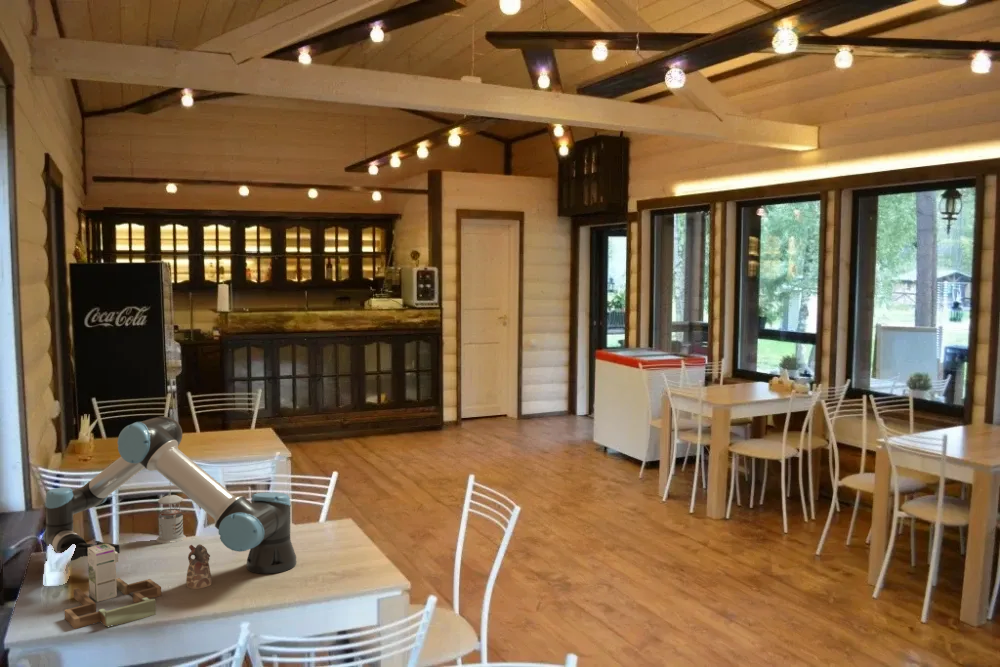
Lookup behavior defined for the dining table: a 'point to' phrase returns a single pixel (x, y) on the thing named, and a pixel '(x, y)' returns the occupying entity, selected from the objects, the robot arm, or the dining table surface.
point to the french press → (170, 521)
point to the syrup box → (102, 572)
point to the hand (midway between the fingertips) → (92, 563)
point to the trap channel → (121, 615)
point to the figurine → (198, 568)
